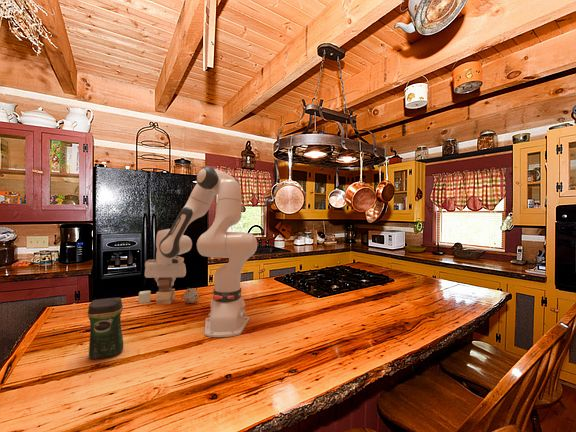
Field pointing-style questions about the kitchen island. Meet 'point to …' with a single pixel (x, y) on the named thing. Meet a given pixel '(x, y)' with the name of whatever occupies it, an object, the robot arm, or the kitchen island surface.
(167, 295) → the oak base block
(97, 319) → the coffee jar
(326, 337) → the kitchen island surface
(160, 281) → the walnut block
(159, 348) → the kitchen island surface
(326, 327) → the kitchen island surface
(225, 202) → the robot arm
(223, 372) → the kitchen island surface
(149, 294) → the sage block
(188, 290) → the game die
